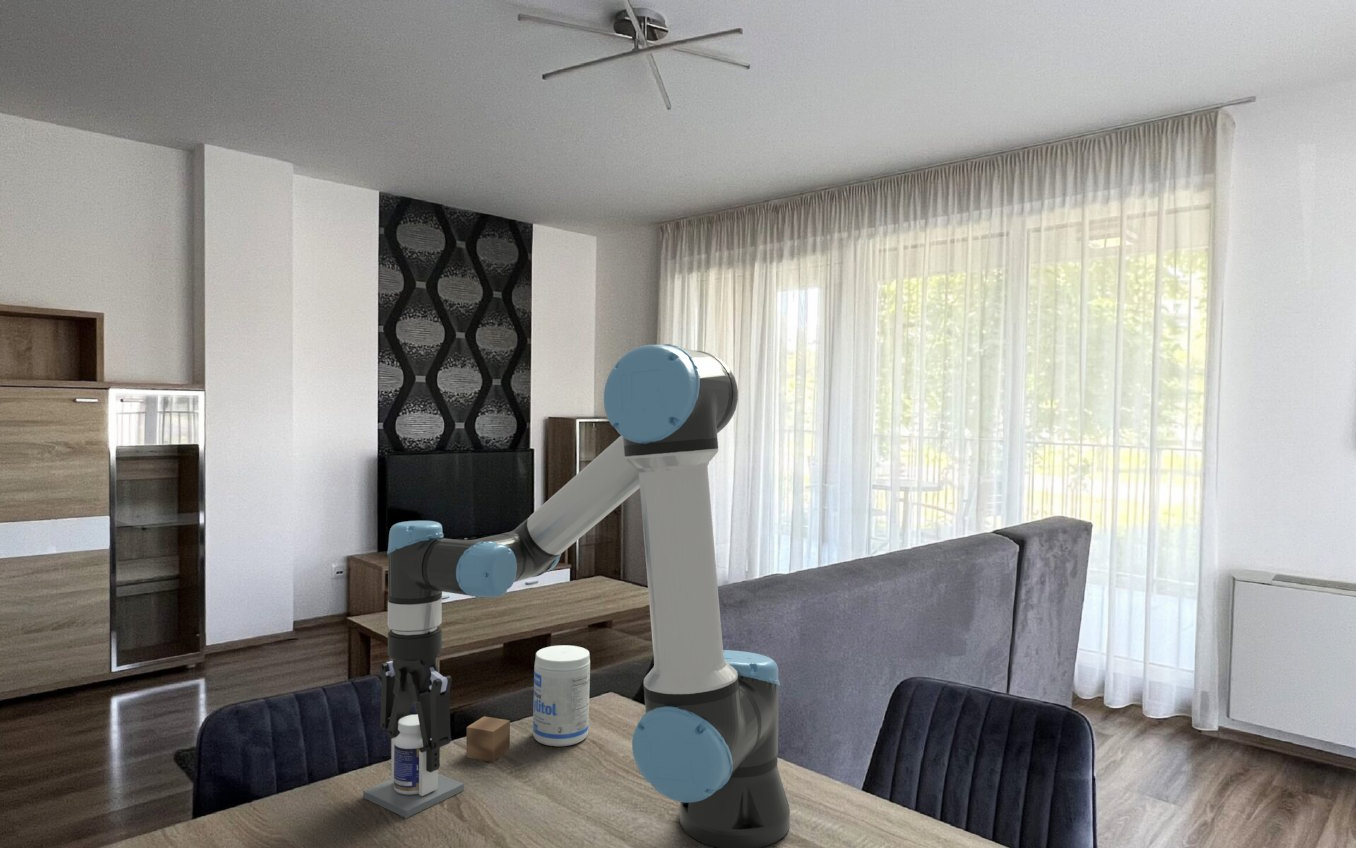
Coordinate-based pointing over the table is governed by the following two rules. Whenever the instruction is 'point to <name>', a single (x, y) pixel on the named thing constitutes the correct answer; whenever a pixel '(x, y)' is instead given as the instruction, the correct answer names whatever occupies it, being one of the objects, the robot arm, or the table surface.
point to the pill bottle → (407, 756)
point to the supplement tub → (561, 695)
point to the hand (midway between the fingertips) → (414, 785)
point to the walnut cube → (488, 739)
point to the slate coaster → (411, 796)
